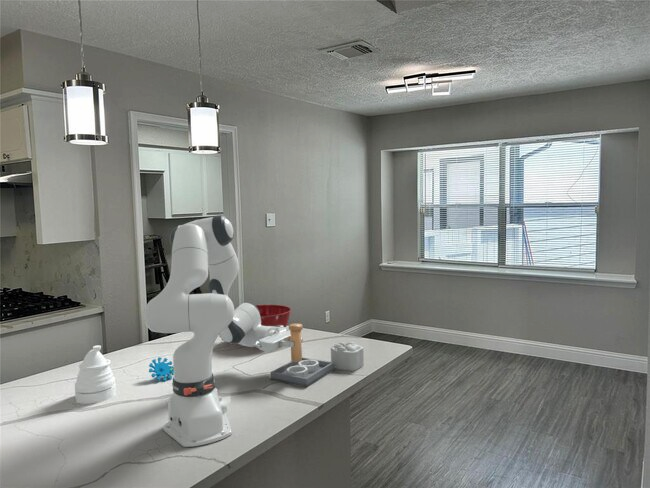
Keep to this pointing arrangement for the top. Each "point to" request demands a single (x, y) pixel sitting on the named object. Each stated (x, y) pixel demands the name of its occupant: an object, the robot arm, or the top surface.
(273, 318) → the mixing bowl
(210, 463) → the top surface
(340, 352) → the lumpy-topped squat cylinder
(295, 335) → the round-headed peg
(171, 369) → the blue knobbed disc
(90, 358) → the honey pot
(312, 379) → the tray
